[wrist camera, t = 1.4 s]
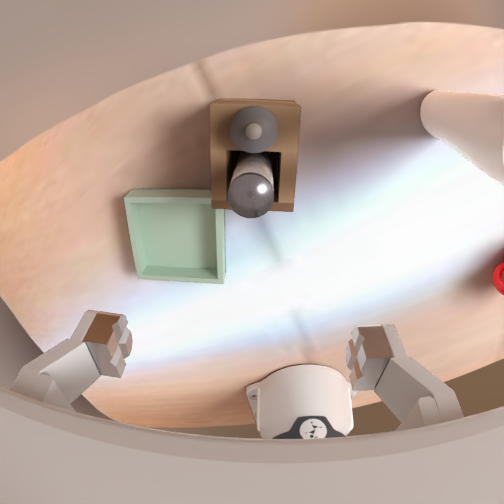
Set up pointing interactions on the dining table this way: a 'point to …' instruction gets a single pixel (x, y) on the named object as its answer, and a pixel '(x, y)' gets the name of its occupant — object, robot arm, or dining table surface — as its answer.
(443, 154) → the dining table surface
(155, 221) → the tray
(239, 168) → the pin
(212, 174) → the tensioner block
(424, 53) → the dining table surface
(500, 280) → the mug
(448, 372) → the dining table surface
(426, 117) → the white tall cup
